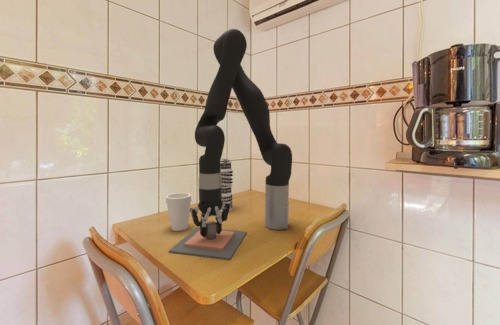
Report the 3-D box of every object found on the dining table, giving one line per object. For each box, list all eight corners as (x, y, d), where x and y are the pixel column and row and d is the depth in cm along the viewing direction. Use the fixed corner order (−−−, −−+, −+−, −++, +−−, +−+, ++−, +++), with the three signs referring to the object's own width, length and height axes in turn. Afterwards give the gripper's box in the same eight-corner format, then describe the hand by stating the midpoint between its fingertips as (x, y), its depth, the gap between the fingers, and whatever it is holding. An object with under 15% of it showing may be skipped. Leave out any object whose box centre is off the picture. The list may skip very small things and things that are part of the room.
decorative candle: (225, 213, 112) (225, 160, 109) (210, 210, 117) (209, 159, 114) (236, 208, 120) (236, 158, 117) (222, 205, 125) (221, 157, 122)
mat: (246, 233, 89) (246, 231, 89) (230, 260, 70) (230, 258, 70) (197, 228, 94) (197, 226, 93) (168, 252, 74) (168, 250, 74)
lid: (234, 234, 86) (234, 218, 86) (222, 251, 74) (222, 232, 73) (201, 231, 89) (201, 215, 89) (184, 246, 77) (183, 228, 76)
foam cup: (196, 224, 97) (195, 193, 96) (184, 233, 88) (183, 199, 87) (175, 222, 100) (174, 192, 98) (162, 230, 91) (160, 197, 90)
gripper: (224, 182, 86) (225, 227, 88) (185, 186, 79) (187, 235, 81) (234, 185, 80) (234, 234, 82) (192, 190, 73) (194, 244, 74)
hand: (211, 234), depth 81 cm, fingers open, 4 cm apart
